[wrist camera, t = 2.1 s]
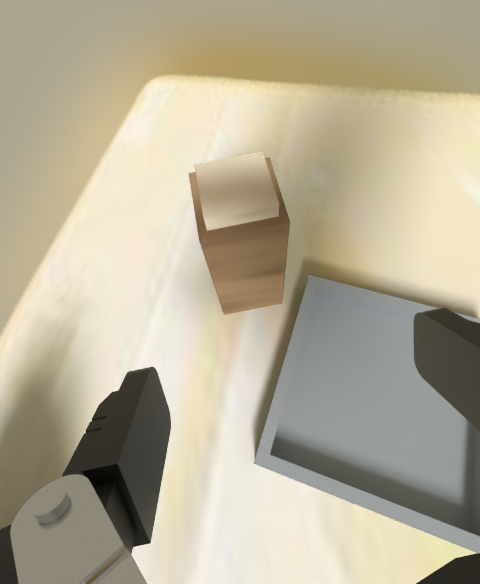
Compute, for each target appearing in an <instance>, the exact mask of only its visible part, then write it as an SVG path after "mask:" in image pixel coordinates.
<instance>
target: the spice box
mask: <svg viewBox="0 0 480 584" xmlns="http://www.w3.org/2000/svg"><path fill="white" fill-rule="evenodd" d="M195 171H196V172H194V173H189V178H190V185H191V191H192V197H193V204H194V210H195V216H196V223H197V229H198V235H199V241H200V244H201V247H202V250H203V253H204V256H205V259H206V262H207V265H208V268H209V271H210V274H211V277H212V280H213V283H214V286H215V289H216V292H217V295H218V298H219V301H220V304H221V307H222V310H223V313H224V315H226V314H230V313H235V312H240V311H245V310H250V309H255V308H260V307H265V306H270V305H275V304H280V303H282V297H283V287H284V277H285V267H286V256H287V246H288V236H289V226H290V221H289V217H288V214H287V211H286V208H285V205H284V202H283V199H282V196H281V192H280V189H279V186H278V183H277V180H276V177H275V174H274V171H273V167H272V164H271V161H270V158H265V157H264V153H263V151H261V152H256V153H251V154H246V155H241V156H236V157H231V158H226V159H221V160H216V161H211V162H206V163H201V164H196V165H195Z"/></svg>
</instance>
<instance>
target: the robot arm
mask: <svg viewBox="0 0 480 584" xmlns="http://www.w3.org/2000/svg"><path fill="white" fill-rule="evenodd" d="M413 324H414V362H415V366H416V368H417V371H418V372H419V374H420V376H421V377H422V378H423V379H424V380H425V381H426V382H427V383H428V384H429V385H430V386H431V387H433V388H434V389H435V390H436V391H437V392H438V393H439V394H440V395H441V396H442V397H443V398H444V399H445V400H447V401H448V402H449V403H450V404H451V405H452V406H453V407H454V408H455V409H456V410H457V411H458V412H459V413H460V414H462V415H463V416H464V417H465V418H466V419H467V420H468V421H469V422H470V423H471V424H472V425H473V426H474V427H475V428H477V429H478V430H479V431H480V323H477V322H474V321H470V320H467V319H465V318H463V317H461V316H460V315H458V314H456V313H454V312H452V311H450V310H448V309H446V308H438V309H433V310H428V311H423V312H419V313H417V314H416V315H415V316H414V322H413ZM170 430H171V419H170V412H169V408H168V405H167V402H166V398H165V395H164V392H163V389H162V386H161V383H160V380H159V376H158V373H157V371H156V369H155V368H154V367H149V368H144V369H139V370H135V371H130V372H128V373H127V374H126V376H125V378H124V380H123V383H122V385H121V387H120V389H119V391H115V392H112V393H111V394H110V395H109V396H108V397H107V398H106V399H105V400H104V401H103V402H102V403H101V404H100V405H99V406H98V408H97V410H96V412H95V414H94V416H93V418H92V422H90V423H89V425H88V427H87V429H86V434H84V435H83V437H82V439H81V441H80V443H79V445H78V447H77V448H76V450H75V452H74V454H73V456H72V458H71V460H70V462H69V464H68V466H67V468H66V470H65V471H64V473H63V475H62V477H61V478H58V479H56V480H54V481H52V482H50V483H48V484H47V485H45V486H44V487H42V488H41V489H39V490H38V491H37V492H36V493H35V494H33V495H32V496H31V497H30V498H29V499H28V500H27V501H26V502H25V503H24V505H23V506H22V507H21V508H20V510H19V511H18V513H17V514H16V516H15V518H14V520H13V523H12V525H10V526H8V527H5V528H3V529H1V530H0V584H147V583H146V581H145V579H144V577H143V575H142V574H141V572H140V570H139V568H138V566H137V564H136V563H135V561H134V559H133V557H132V555H131V553H132V549H133V547H135V546H139V545H144V544H149V543H150V542H151V537H152V531H153V526H154V520H155V514H156V509H157V503H158V497H159V492H160V486H161V481H162V475H163V469H164V464H165V458H166V453H167V447H168V441H169V436H170ZM416 584H480V553H478V554H473V555H468V556H464V557H459V558H455V559H454V560H452V561H451V562H449V563H447V564H446V565H444V566H443V567H441V568H440V569H438V570H437V571H435V572H433V573H432V574H430V575H429V576H427V577H426V578H424V579H423V580H421V581H420V582H418V583H416Z"/></svg>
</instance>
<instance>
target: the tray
mask: <svg viewBox="0 0 480 584" xmlns="http://www.w3.org/2000/svg"><path fill="white" fill-rule="evenodd" d="M433 309H438V308H436V307H432V306H428V305H425V304H421V303H417V302H413V301H409V300H405V299H402V298H398V297H394V296H390V295H386V294H382V293H378V292H375V291H371V290H367V289H363V288H359V287H355V286H352V285H348V284H344V283H340V282H336V281H332V280H329V279H325V278H321V277H317V276H313V275H309V278H308V281H307V284H306V288H305V291H304V295H303V298H302V301H301V305H300V308H299V311H298V315H297V318H296V322H295V325H294V328H293V332H292V335H291V339H290V342H289V345H288V349H287V352H286V355H285V359H284V362H283V366H282V369H281V372H280V376H279V379H278V383H277V386H276V389H275V393H274V396H273V399H272V403H271V406H270V410H269V413H268V416H267V420H266V423H265V427H264V430H263V433H262V437H261V440H260V444H259V447H258V450H257V454H256V457H255V460H254V464H257V465H259V466H262V467H264V468H267V469H269V470H271V471H274V472H276V473H279V474H281V475H284V476H286V477H289V478H291V479H294V480H296V481H299V482H301V483H304V484H306V485H309V486H311V487H314V488H316V489H319V490H321V491H324V492H326V493H329V494H331V495H334V496H336V497H339V498H341V499H344V500H346V501H349V502H351V503H354V504H356V505H359V506H361V507H364V508H366V509H369V510H371V511H374V512H376V513H379V514H381V515H384V516H386V517H389V518H391V519H394V520H396V521H399V522H401V523H404V524H406V525H409V526H411V527H414V528H416V529H419V530H421V531H424V532H426V533H429V534H431V535H434V536H436V537H439V538H441V539H444V540H446V541H449V542H451V543H454V544H456V545H459V546H461V547H464V548H466V549H469V550H471V551H474V552H476V553H480V431H479V430H478V429H477V428H475V427H474V426H473V425H472V424H471V423H470V422H469V421H468V420H467V419H466V418H465V417H464V416H463V415H462V414H460V413H459V412H458V411H457V410H456V409H455V408H454V407H453V406H452V405H451V404H450V403H449V402H448V401H447V400H445V399H444V398H443V397H442V396H441V395H440V394H439V393H438V392H437V391H436V390H435V389H434V388H433V387H431V386H430V385H429V384H428V383H427V382H426V381H425V380H424V379H423V378H422V377H421V376H420V374H419V372H418V371H417V368H416V366H415V362H414V324H413V322H414V316H415V315H416V314H417V313H419V312H423V311H428V310H433ZM454 313H455V312H454ZM456 314H458V315H460V316H461V317H463V318H465V319H467V320H470V321H474V322H477V323H480V319H478V318H474V317H471V316H467V315H463V314H459V313H456Z"/></svg>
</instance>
